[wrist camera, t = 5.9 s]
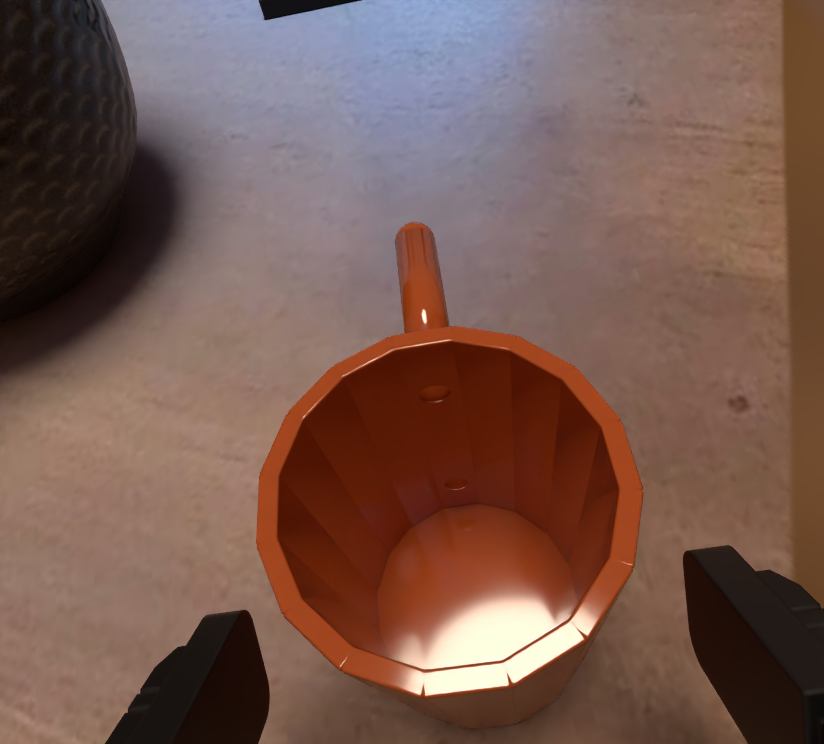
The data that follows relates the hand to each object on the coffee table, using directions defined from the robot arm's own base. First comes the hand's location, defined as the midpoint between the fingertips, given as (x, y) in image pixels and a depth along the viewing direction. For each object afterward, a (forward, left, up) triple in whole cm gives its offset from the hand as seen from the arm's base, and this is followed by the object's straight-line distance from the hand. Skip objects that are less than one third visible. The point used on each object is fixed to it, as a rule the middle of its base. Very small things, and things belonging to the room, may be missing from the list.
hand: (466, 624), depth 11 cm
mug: (-1, -5, -8) cm, 10 cm away
